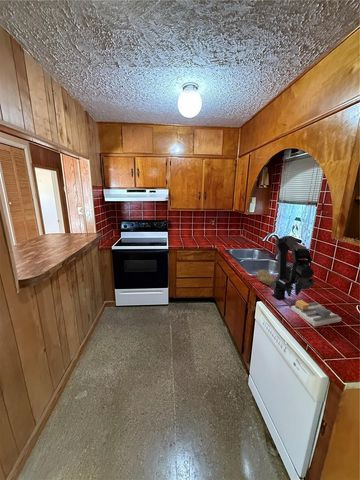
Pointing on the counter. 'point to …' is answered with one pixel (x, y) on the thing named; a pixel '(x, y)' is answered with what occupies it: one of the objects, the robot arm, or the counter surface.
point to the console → (316, 315)
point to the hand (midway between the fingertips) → (292, 295)
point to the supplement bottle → (288, 271)
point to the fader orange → (302, 305)
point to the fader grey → (322, 311)
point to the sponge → (265, 277)
